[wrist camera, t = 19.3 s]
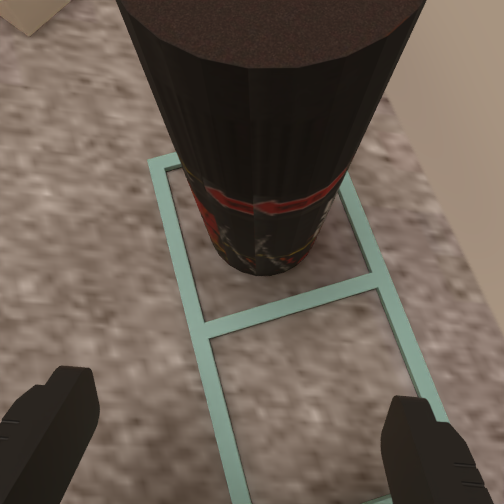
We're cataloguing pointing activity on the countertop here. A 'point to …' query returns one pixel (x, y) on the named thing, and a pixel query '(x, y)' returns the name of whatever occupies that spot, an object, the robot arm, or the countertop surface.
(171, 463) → the countertop surface
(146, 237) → the countertop surface
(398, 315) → the track
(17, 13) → the die
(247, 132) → the deodorant
